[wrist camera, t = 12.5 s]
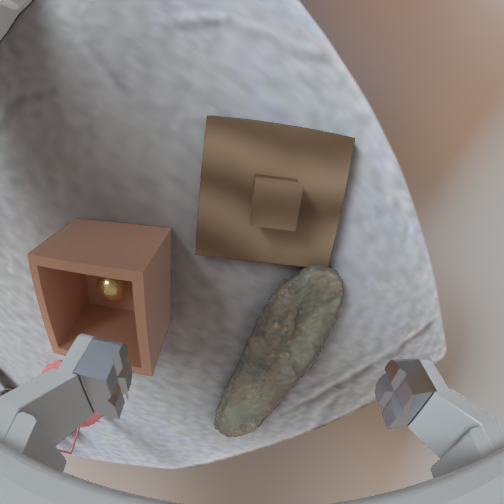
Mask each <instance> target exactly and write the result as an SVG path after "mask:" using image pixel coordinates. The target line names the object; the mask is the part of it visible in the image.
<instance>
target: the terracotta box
mask: <svg viewBox="0 0 504 504" xmlns="http://www.w3.org/2000/svg"><path fill="white" fill-rule="evenodd" d="M171 241H172V228H167V227H158V226H148V225H138V224H129V223H119V222H109V221H98V220H88V219H75V220H74V221H72V222H71V223H69V224H68V225H66V226H65V227H63V228H62V229H61V230H59V231H58V232H56V233H55V234H54V235H52V236H51V237H50V238H48V239H47V240H45V241H44V242H43V243H41V244H40V245H39V246H37V247H36V248H35V249H33V250H32V251H31V252H30V253H28V254H27V255H28V260H29V265H30V270H31V275H32V279H33V284H34V288H35V292H36V296H37V300H38V304H39V307H40V311H41V314H42V318H43V321H44V324H45V328H46V331H47V334H48V337H49V340H50V343H51V346H52V349H53V352H54V353H58V354H61V355H64V356H65V355H66V354H67V352H68V351H69V349H70V347H71V346H72V344H73V342H74V341H75V339H76V338H77V336H78V335H80V334H81V333H82V334H86V335H90V336H94V337H100V338H104V339H109V340H113V341H118V342H122V343H125V344H127V347H128V351H129V353H128V356H127V359H128V361H129V362H130V363H131V367H132V373H137V374H142V375H148V376H153V373H154V370H155V367H156V363H157V360H158V357H159V354H160V351H161V348H162V345H163V342H164V339H165V336H166V333H167V330H168V327H169V324H170V321H171ZM98 276H99V277H106V278H112V279H118V280H125V281H131V289H130V291H129V293H128V295H127V296H126V297H125V298H124V299H122V300H119V301H110V300H107V299H105V298H104V297H103V296H102V295H101V294H100V292H99V290H98V288H97V278H98Z"/></svg>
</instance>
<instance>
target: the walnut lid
mask: <svg viewBox="0 0 504 504" xmlns="http://www.w3.org/2000/svg"><path fill="white" fill-rule="evenodd" d="M354 142H355V138H352V137H348V136H343V135H339V134H334V133H329V132H324V131H319V130H314V129H308V128H303V127H297V126H291V125H284V124H278V123H271V122H264V121H256V120H248V119H239V118H229V117H218V116H207V122H206V131H205V140H204V150H203V160H202V171H201V182H200V194H199V207H198V222H197V237H196V255H201V256H210V257H219V258H228V259H237V260H246V261H255V262H265V263H274V264H283V265H293V266H302V267H309V266H310V265H320V266H322V267H325V268H327V267H328V264H329V260H330V256H331V252H332V248H333V244H334V240H335V236H336V231H337V227H338V223H339V218H340V214H341V209H342V204H343V200H344V195H345V190H346V185H347V180H348V175H349V170H350V164H351V159H352V153H353V148H354Z"/></svg>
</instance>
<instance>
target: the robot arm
mask: <svg viewBox="0 0 504 504" xmlns="http://www.w3.org/2000/svg"><path fill="white" fill-rule="evenodd" d="M31 1H32V0H0V40H1V39H2V38H3V37H4V35H5V34H6V33H7V31H8V30H9V28H10V27H11V25H12V23H13V22H14V20H15V19H16V17H17V16H18V15H19V13H20V12H21V11H22V10H24V9H25V8H26V7H27V6H28V5H29V4H30V2H31ZM128 353H129V351H128V347H127V344H125V343H122V342H118V341H113V340H109V339H104V338H100V337H94V336H90V335H86V334H82V333H81V334H80V335H78V336H77V338H76V339H75V341H74V342H73V344H72V346H71V347H70V349H69V351H68V352H67V354H66V355H65V357H64V359H63V361H62V362H61V364H60V366H59V367H58V369H57V368H52V369H50V370H49V371H47V372H45V373H43V374H41V375H39V376H37V377H36V378H34V379H32V380H30V381H28V382H26V383H24V384H22V385H21V386H19V387H17V388H15V389H13V390H11V391H9V392H8V393H6V394H4V395H2V396H0V504H184V503H177V502H171V501H165V500H158V499H153V498H149V497H144V496H140V495H135V494H131V493H127V492H123V491H119V490H115V489H112V488H108V487H105V486H102V485H99V484H95V483H92V482H89V481H86V480H83V479H80V478H77V477H75V476H72V475H70V474H67V473H64V472H63V471H64V467H65V464H66V459H65V457H64V456H63V455H62V454H61V452H60V451H59V450H58V449H57V447H56V445H58V444H59V443H60V442H61V441H62V440H64V439H65V438H66V437H67V436H69V435H70V434H71V433H72V432H73V431H75V430H76V429H77V428H78V427H79V426H81V425H82V424H83V423H84V422H86V421H87V420H88V419H89V418H90V417H92V416H93V415H94V413H96V414H100V415H104V416H108V417H112V418H117V419H119V418H120V415H121V412H122V409H123V406H124V403H125V402H124V398H123V395H124V394H125V393H127V392H128V391H129V388H130V385H131V379H132V367H131V363H130V362H129V361H128V359H127V356H128ZM385 371H386V373H385V374H384V375H383V376H381V377H380V378H379V380H378V382H377V384H376V390H375V395H376V400H377V402H378V404H379V405H380V406H381V407H383V408H384V409H383V412H382V415H383V418H384V421H385V424H386V426H387V429H392V428H398V427H404V426H408V428H409V429H410V430H411V431H412V432H413V433H414V434H415V435H416V436H417V437H418V438H419V439H420V440H422V442H424V444H426V445H427V446H428V447H429V448H430V449H431V450H432V451H433V452H434V453H435V454H436V455H437V456H438V457H439V458H440V460H439V461H438V462H436V463H435V464H434V465H433V466H432V468H431V472H432V475H433V478H434V479H432V480H428V481H426V482H422V483H419V484H416V485H413V486H410V487H406V488H403V489H399V490H396V491H392V492H388V493H384V494H380V495H375V496H371V497H367V498H361V499H357V500H350V501H345V502H338V503H332V504H504V431H503V430H502V428H501V426H500V424H499V423H498V421H497V419H496V418H495V417H493V416H492V415H490V414H489V413H487V412H486V411H484V410H483V409H481V408H480V407H478V406H477V405H475V404H474V403H472V402H471V401H469V400H468V399H466V398H465V397H463V396H462V395H460V394H459V393H457V392H456V391H454V390H453V389H448V387H447V385H446V384H445V382H444V380H443V378H442V377H441V375H440V373H439V372H438V370H437V369H436V367H435V365H434V364H433V362H432V360H431V359H430V358H428V357H423V358H415V359H414V358H413V359H400V360H391V361H390V362H389V363H388V364H387V366H386V367H385Z"/></svg>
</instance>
